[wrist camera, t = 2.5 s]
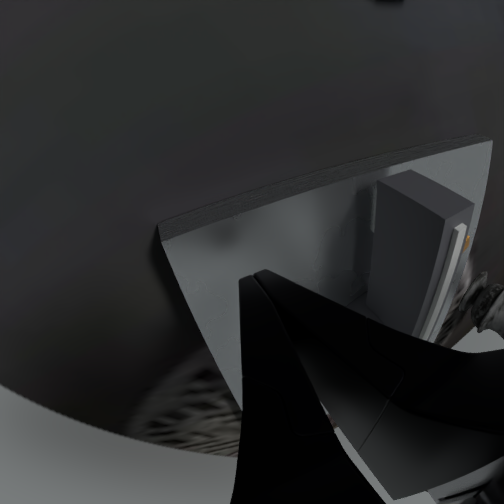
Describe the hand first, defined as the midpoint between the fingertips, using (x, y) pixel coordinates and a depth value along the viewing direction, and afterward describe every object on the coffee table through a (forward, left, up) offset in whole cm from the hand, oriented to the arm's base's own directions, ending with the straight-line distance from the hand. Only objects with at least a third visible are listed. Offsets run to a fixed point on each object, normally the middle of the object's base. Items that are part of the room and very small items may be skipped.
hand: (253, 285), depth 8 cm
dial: (-6, -6, -1) cm, 8 cm away
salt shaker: (-16, -24, -3) cm, 29 cm away
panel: (-8, -7, -3) cm, 11 cm away
